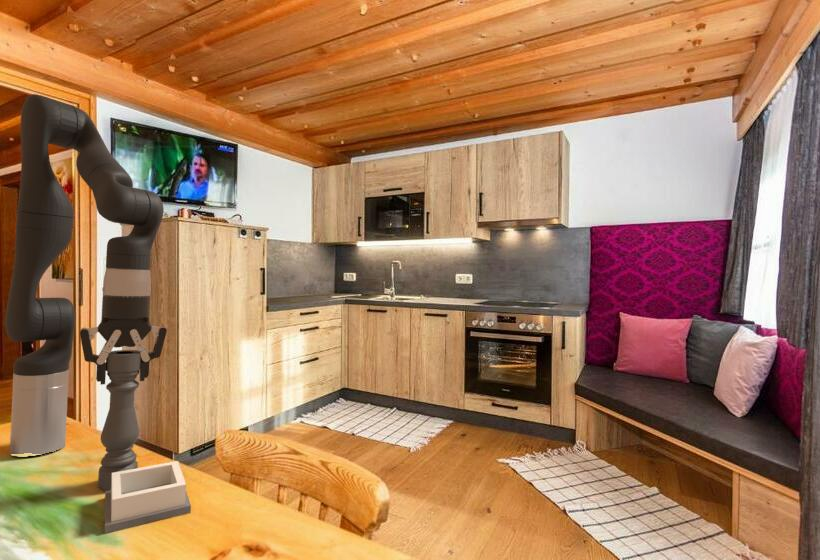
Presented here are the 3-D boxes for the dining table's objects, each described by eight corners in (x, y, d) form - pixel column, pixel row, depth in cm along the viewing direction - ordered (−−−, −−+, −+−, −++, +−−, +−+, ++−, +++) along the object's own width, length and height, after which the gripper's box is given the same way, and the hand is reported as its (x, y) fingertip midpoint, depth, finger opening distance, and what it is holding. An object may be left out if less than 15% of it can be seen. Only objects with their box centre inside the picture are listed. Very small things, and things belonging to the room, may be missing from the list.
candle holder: (90, 485, 80) (97, 352, 80) (125, 473, 86) (132, 348, 86) (109, 495, 77) (116, 357, 77) (144, 481, 83) (150, 352, 83)
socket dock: (105, 498, 76) (106, 472, 76) (180, 482, 83) (181, 458, 83) (104, 533, 67) (106, 503, 67) (190, 512, 74) (192, 485, 73)
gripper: (168, 292, 88) (163, 374, 89) (80, 290, 80) (75, 380, 80) (172, 295, 82) (168, 383, 82) (78, 293, 74) (73, 391, 74)
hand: (122, 381), depth 81 cm, fingers closed on candle holder, 5 cm apart
